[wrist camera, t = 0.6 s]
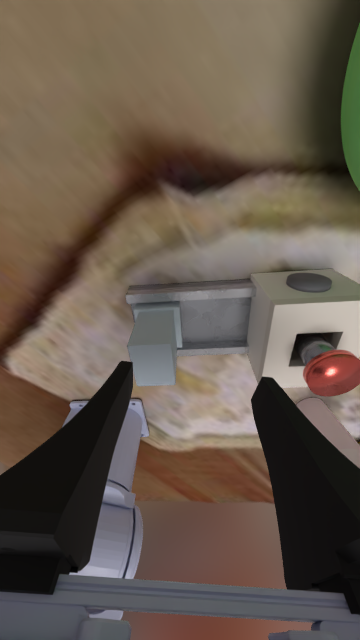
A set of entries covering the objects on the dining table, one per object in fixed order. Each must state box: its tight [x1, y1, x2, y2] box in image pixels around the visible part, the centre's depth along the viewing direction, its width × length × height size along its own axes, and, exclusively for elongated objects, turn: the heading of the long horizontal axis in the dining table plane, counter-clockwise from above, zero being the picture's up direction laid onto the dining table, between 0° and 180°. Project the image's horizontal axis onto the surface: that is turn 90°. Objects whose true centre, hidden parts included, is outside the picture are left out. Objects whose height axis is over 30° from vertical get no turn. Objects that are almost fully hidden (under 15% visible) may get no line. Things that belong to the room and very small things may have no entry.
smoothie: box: [296, 398, 360, 468], centre depth 23 cm, size 6×6×14 cm
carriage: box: [127, 301, 182, 386], centre depth 18 cm, size 4×4×6 cm
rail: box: [125, 279, 257, 356], centre depth 21 cm, size 11×7×2 cm, turn 94°
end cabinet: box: [247, 269, 360, 388], centre depth 19 cm, size 7×8×6 cm
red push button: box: [293, 333, 360, 396], centre depth 16 cm, size 3×3×5 cm
